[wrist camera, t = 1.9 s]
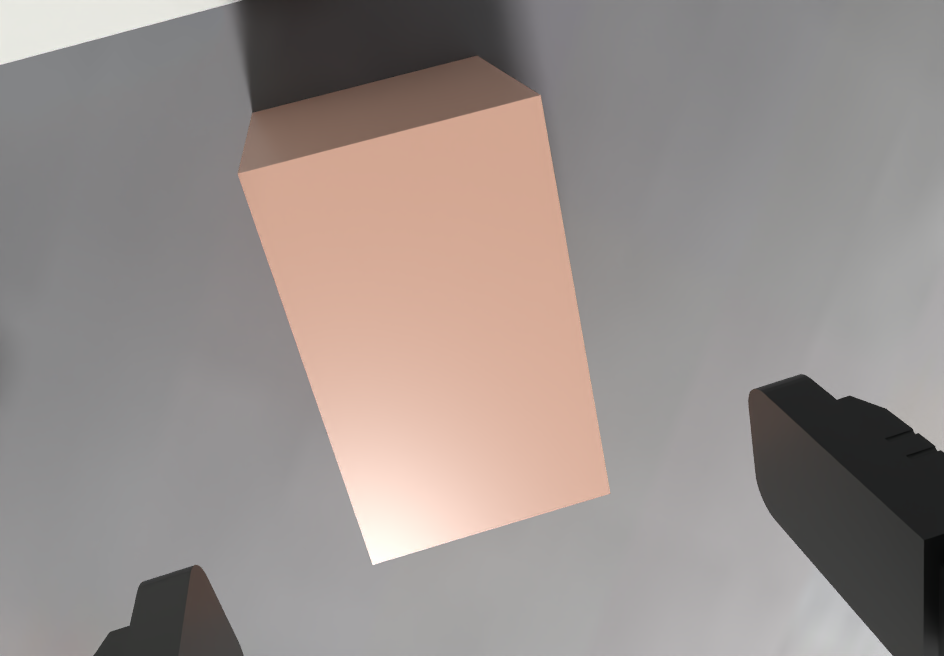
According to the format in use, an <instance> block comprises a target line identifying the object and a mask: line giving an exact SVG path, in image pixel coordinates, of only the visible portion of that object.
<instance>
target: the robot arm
mask: <svg viewBox="0 0 944 656" xmlns="http://www.w3.org/2000/svg"><path fill="white" fill-rule="evenodd" d="M748 403H749V414H750V424H751V434H752V444H753V454H754V463H755V473H756V480H757V484H758V487H759V491H760V493H761V496H762V498H763V501H764V503H765V505H766V507H767V509H768V510H769V512H770V513H771V515H772V516H773V518H774V519H775V520H776V521H777V523H778V524H779V525H780V526H781V527H782V528H783V529H784V531H785V532H786V533H787V534H788V535H789V536H790V538H791V539H792V540H793V541H794V542H795V543H796V544H797V546H798V547H799V548H800V549H801V550H802V551H803V553H804V554H805V555H806V556H807V557H808V558H809V559H810V561H811V562H812V563H813V564H814V565H815V566H816V568H817V569H818V570H819V571H820V572H821V573H822V574H823V576H824V577H825V578H826V579H827V580H828V581H829V582H830V584H831V585H832V586H833V587H834V588H835V589H836V591H837V592H838V593H839V594H840V595H841V596H842V597H843V599H844V600H845V601H846V602H847V603H848V604H849V606H850V607H851V608H852V609H853V610H854V611H855V612H856V614H857V615H858V616H859V617H860V618H861V619H862V621H863V622H864V623H865V624H866V625H867V626H868V627H869V629H870V630H871V631H872V632H873V633H874V634H875V636H876V637H877V638H878V639H879V640H880V641H881V642H882V644H883V645H884V646H885V647H886V648H887V649H888V651H889V652H890V653H891V654H892V655H893V656H944V452H942V451H941V450H940V451H937V450H936V448H935V446H934V445H933V444H932V443H931V442H929V441H928V440H927V439H925V438H924V437H923V436H921V435H920V434H919V433H917V434H915V433H914V431H913V429H912V428H911V427H909V426H908V425H907V424H905V423H904V422H903V421H902V420H900V419H899V418H898V417H896V416H895V415H894V414H892V413H891V412H890V411H888V410H887V409H885V408H882V407H880V406H877V405H874V404H871V403H868V402H866V401H863V400H860V399H857V398H855V397H852V396H847V397H844V398H841V399H838V400H836V399H835V398H834V397H833V396H832V395H830V394H829V393H828V392H827V391H825V390H824V389H823V388H822V387H820V386H819V385H818V384H817V383H815V382H814V381H813V380H812V379H810V378H809V377H808V376H806V375H802V374H800V375H797V376H794V377H790V378H787V379H784V380H781V381H778V382H775V383H772V384H768V385H765V386H762V387H759V388H756V389H753V390H752V391H751V392H750V394H749V400H748ZM94 656H243V652H242V649H241V647H240V644H239V642H238V640H237V638H236V636H235V634H234V632H233V630H232V627H231V625H230V623H229V621H228V619H227V617H226V615H225V613H224V611H223V609H222V607H221V605H220V603H219V600H218V598H217V596H216V594H215V592H214V590H213V588H212V586H211V584H210V582H209V580H208V578H207V576H206V574H205V572H204V571H203V569H202V568H201V567H200V566H198V565H194V566H191V567H188V568H185V569H182V570H178V571H175V572H172V573H169V574H166V575H163V576H159V577H156V578H153V579H150V580H147V581H144V582H142V583H141V584H140V586H139V588H138V591H137V595H136V600H135V604H134V609H133V613H132V618H131V622H130V626H127V627H124V628H121V629H118V630H115V631H112V632H110V633H109V634H108V635H107V637H106V638H105V640H104V641H103V643H102V644H101V646H100V647H99V649H98V650H97V652H96V653H95V654H94Z"/></svg>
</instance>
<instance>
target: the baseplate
mask: <svg viewBox="0 0 944 656" xmlns="http://www.w3.org/2000/svg"><path fill="white" fill-rule="evenodd" d="M238 1H241V0H0V65H1V64H5V63H9V62H12V61H16V60H20V59H24V58H27V57H31V56H35V55H39V54H42V53H46V52H50V51H54V50H57V49H61V48H65V47H69V46H72V45H76V44H80V43H84V42H87V41H91V40H95V39H99V38H102V37H106V36H110V35H114V34H117V33H121V32H125V31H129V30H132V29H136V28H140V27H144V26H148V25H151V24H155V23H159V22H163V21H166V20H170V19H174V18H178V17H181V16H185V15H189V14H193V13H196V12H200V11H204V10H208V9H211V8H215V7H219V6H223V5H226V4H230V3H234V2H238Z"/></svg>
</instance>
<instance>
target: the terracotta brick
mask: <svg viewBox="0 0 944 656" xmlns="http://www.w3.org/2000/svg"><path fill="white" fill-rule="evenodd" d="M238 176H239V179H240V182H241V185H242V187H243V190H244V193H245V196H246V199H247V202H248V205H249V208H250V211H251V214H252V216H253V219H254V222H255V225H256V228H257V231H258V234H259V237H260V240H261V242H262V245H263V248H264V251H265V254H266V257H267V260H268V263H269V266H270V269H271V271H272V274H273V277H274V280H275V283H276V286H277V289H278V292H279V295H280V298H281V300H282V303H283V306H284V309H285V312H286V315H287V318H288V321H289V324H290V326H291V329H292V332H293V335H294V338H295V341H296V344H297V347H298V350H299V353H300V355H301V358H302V361H303V364H304V367H305V370H306V373H307V376H308V379H309V381H310V384H311V387H312V390H313V393H314V396H315V399H316V402H317V405H318V408H319V410H320V413H321V416H322V419H323V422H324V425H325V428H326V431H327V434H328V437H329V439H330V442H331V445H332V448H333V451H334V454H335V457H336V460H337V463H338V465H339V468H340V471H341V474H342V477H343V480H344V483H345V486H346V489H347V492H348V494H349V497H350V500H351V503H352V506H353V509H354V512H355V515H356V518H357V520H358V523H359V526H360V529H361V532H362V535H363V538H364V541H365V544H366V547H367V549H368V552H369V555H370V558H371V561H372V564H373V565H374V564H377V563H380V562H384V561H387V560H390V559H394V558H397V557H400V556H404V555H407V554H410V553H414V552H417V551H420V550H424V549H427V548H430V547H434V546H437V545H440V544H444V543H447V542H450V541H454V540H457V539H460V538H464V537H467V536H470V535H474V534H477V533H480V532H484V531H487V530H490V529H494V528H497V527H500V526H504V525H507V524H510V523H514V522H517V521H520V520H524V519H527V518H530V517H534V516H537V515H540V514H544V513H547V512H550V511H554V510H557V509H560V508H564V507H567V506H570V505H574V504H577V503H580V502H584V501H587V500H590V499H594V498H597V497H600V496H604V495H607V494H610V489H609V483H608V477H607V472H606V466H605V460H604V455H603V449H602V443H601V437H600V432H599V426H598V420H597V415H596V409H595V403H594V398H593V392H592V386H591V380H590V375H589V369H588V363H587V358H586V352H585V346H584V341H583V335H582V329H581V323H580V318H579V312H578V306H577V301H576V295H575V289H574V283H573V278H572V272H571V266H570V261H569V255H568V249H567V244H566V238H565V232H564V226H563V221H562V215H561V209H560V204H559V198H558V192H557V187H556V181H555V175H554V169H553V164H552V158H551V152H550V147H549V141H548V135H547V129H546V124H545V118H544V112H543V107H542V101H541V95H539V94H538V93H536V92H535V91H533V90H531V89H530V88H528V87H527V86H525V85H523V84H522V83H520V82H519V81H517V80H515V79H514V78H512V77H511V76H509V75H507V74H506V73H504V72H503V71H501V70H499V69H498V68H496V67H495V66H493V65H491V64H490V63H488V62H487V61H485V60H483V59H482V58H480V57H479V56H474V57H470V58H466V59H462V60H458V61H454V62H450V63H446V64H442V65H438V66H434V67H431V68H427V69H423V70H419V71H415V72H411V73H407V74H403V75H399V76H395V77H391V78H387V79H383V80H379V81H376V82H372V83H368V84H364V85H360V86H356V87H352V88H348V89H344V90H340V91H336V92H332V93H328V94H325V95H321V96H317V97H313V98H309V99H305V100H301V101H297V102H293V103H289V104H285V105H281V106H277V107H274V108H270V109H266V110H262V111H258V112H254V113H252V117H251V121H250V125H249V129H248V133H247V137H246V142H245V146H244V150H243V154H242V158H241V162H240V167H239V171H238Z"/></svg>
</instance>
